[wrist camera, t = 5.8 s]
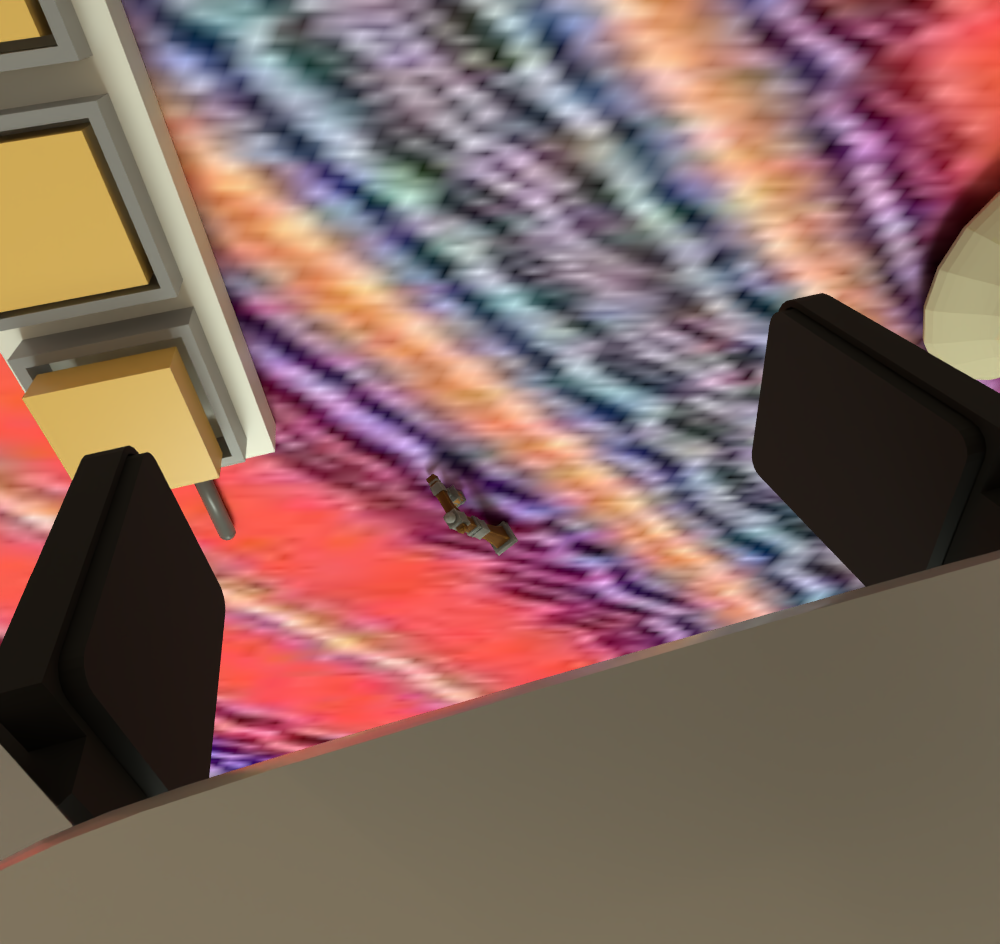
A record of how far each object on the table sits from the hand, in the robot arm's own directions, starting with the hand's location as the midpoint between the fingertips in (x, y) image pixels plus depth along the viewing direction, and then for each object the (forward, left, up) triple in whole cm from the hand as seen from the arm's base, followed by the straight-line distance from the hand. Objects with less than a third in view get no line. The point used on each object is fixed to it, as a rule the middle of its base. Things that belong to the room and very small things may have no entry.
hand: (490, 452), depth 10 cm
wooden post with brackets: (-2, +24, -29) cm, 38 cm away
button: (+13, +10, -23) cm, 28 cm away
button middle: (+13, +1, -25) cm, 28 cm away
